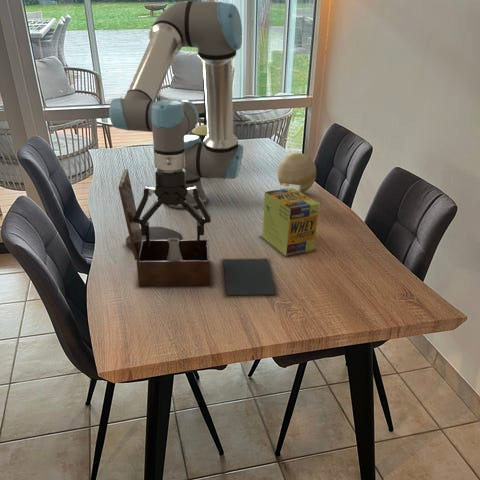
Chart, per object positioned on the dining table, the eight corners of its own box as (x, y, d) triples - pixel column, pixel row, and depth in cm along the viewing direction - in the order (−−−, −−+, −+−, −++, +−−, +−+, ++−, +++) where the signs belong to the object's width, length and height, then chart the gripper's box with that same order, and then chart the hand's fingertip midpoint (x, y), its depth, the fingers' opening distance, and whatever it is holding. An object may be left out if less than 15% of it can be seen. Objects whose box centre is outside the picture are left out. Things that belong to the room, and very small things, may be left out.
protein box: (286, 257, 154) (290, 208, 145) (261, 237, 165) (264, 191, 156) (314, 250, 158) (320, 203, 149) (288, 231, 169) (292, 186, 161)
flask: (162, 266, 146) (160, 234, 140) (188, 266, 146) (187, 234, 141) (161, 279, 140) (159, 246, 134) (188, 278, 140) (187, 246, 135)
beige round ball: (321, 195, 198) (326, 157, 189) (288, 201, 192) (291, 161, 183) (301, 183, 209) (304, 146, 200) (269, 188, 203) (271, 150, 194)
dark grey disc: (158, 259, 150) (157, 250, 149) (121, 247, 156) (120, 238, 155) (187, 242, 161) (187, 233, 159) (151, 230, 167) (150, 222, 165)
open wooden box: (208, 263, 150) (208, 239, 145) (209, 285, 139) (209, 261, 134) (143, 263, 148) (140, 239, 144) (139, 286, 137) (136, 261, 133)
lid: (127, 168, 132) (124, 169, 132) (121, 186, 121) (118, 186, 121) (142, 238, 144) (139, 238, 144) (137, 260, 133) (134, 260, 133)
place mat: (223, 260, 151) (223, 259, 151) (266, 260, 152) (266, 259, 152) (226, 296, 135) (226, 294, 134) (275, 295, 136) (275, 294, 135)
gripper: (117, 172, 122) (125, 252, 134) (220, 173, 124) (219, 251, 136) (121, 163, 128) (128, 240, 140) (219, 164, 130) (218, 239, 142)
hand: (173, 246), depth 138 cm, fingers open, 13 cm apart
